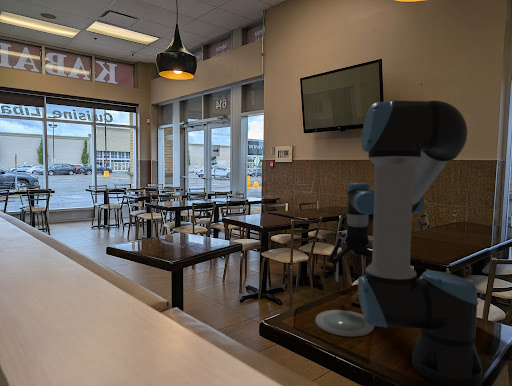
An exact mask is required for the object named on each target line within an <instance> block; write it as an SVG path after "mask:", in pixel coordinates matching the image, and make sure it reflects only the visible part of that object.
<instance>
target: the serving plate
mask: <svg viewBox="0 0 512 386" xmlns="http://www.w3.org/2000/svg"><path fill="white" fill-rule="evenodd" d="M315 324H316V325H317V327H318V328H319V329H321V330H323V332H327V333H329V334H332V335H336V336H342V337H351V338H353V337H362V336H366V335H369V334H371V333H372V332H373V331H374V330H375V326H372V325H370V324H368V323H367V321H366V320H365V318H364V316H363V313H359V312H354V311H350V310H343V309H342V310H341V309H332V310H331V309H330V310H325V311H321V312H320V313H318V314H317V315H316V317H315Z"/></svg>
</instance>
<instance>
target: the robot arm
mask: <svg viewBox="0 0 512 386" xmlns="http://www.w3.org/2000/svg"><path fill="white" fill-rule="evenodd" d="M362 126H363V127H362V131H361V140H360V141H361V149H362V150H363V151H364V152H367V153H368V160H369V161H370V162H371V163H372V164H373V165H374V178H373V179H374V185H373V187H374V188H373V189H374V190H370V184H369V183H366V182H351V183H348V185H347V212H346V213H347V214H346V223H347V225H346V237H341V236H338V237H337V242H336V244H335V245H334V248H333V249H332V251H331V253H330V254H329V256H328V262H329V263H332V272H333V273H335V282H336V283H338V282H339V266H340V265H339V261H340V260H341V259H343V257H344V256H346V254H347V253H348V252H350V250H351V251H354V252H355V251H358V252H362V251H364V252H365V253H366V254H367V255H368V256H369V258H370V259H371V260H372V261H371V263H369V264H368V266H367V267H365V275H361V276H359V277H358V278H357V292H358V293H359V300H360V304H359V305H360V309H361V311H362V313H361V314H362V315H363V316H364V318H365V320H366V321H367V323H368V324H370V325H372V326H374V327H381V328H382V327H383V328H385V329H387V328H399V329H400V328H402V329H420V334H419V336H418V338H417V341H416V344H415V346H414V347H413V350H412V353H411V365H412V367H413V368H414V370H415V371H416V373H417V372H418V374H419V375H421V376H422V377H424V378H426V379H427V380H429V381H432V382H434V383H437V384H440V385H443V386H479V385H480V384H481V383H482V382H483V366H482V363H481V360H480V357H479V354H478V350H477V347H476V334H477V331H476V330H477V316H478V315H477V314H478V305H479V302H478V289H477V286H476V284H475V283H474V284H473V283H472V282H470V281H468V280H469V279H467V280H466V278H464V277H461V276H458V275H455V274H451V273H448V272H444V271H437V270H428V271H427V270H425V271H424V273H422V274H423V275H422V274H421V275H422V278H421V279H419V278H420V277H418V278H417V275H418V274H417V272H416V270H414V268H412V266H411V248H412V247H411V245H412V240H411V239H412V217H413V216H412V215H414V214H417V215H418V214H421V213H422V212H423V210H424V208H425V196H424V195H425V193H426V192H427V191H428V190H429V188H431V186H432V184H433V183H434V182H435V180H436V179H437V178H438V176H439V174H441V172H442V170H443V169H444V168H445V167H446V165H447V163H449V162H452V161H453V160H455V159H456V158H457V157H458V156H459V154H460V153H461V152H462V150H463V149H464V147H465V146H466V142H467V138H468V125H467V122H466V120H465V117H464V116H463V114H462V113H461V112H460V111H459V109H457V108H456V106H453V104H450V103H448V102H446V101H441V100H388V101H378V102H374V103H373V104H371V106H370V107H369V108H368V110H367V112H366V115H365V118H364V121H363V125H362ZM372 214H373V219H372V220H373V221H372V238H371V239H369V226H368V225H369V215H372ZM344 242H345V244H346V246H345V247H344V248H343V249H342V250H341V251H340V252H339V253H338V254H337V252H338V251H339V249H340V247H341V245H343V244H344ZM369 244H370V245H371V246H372V252H371V251H370V249H369V248H368V247H367V246H368V245H369ZM336 254H337V256H336ZM335 256H336V257H335Z"/></svg>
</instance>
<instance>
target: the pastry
mask: <svg viewBox="0 0 512 386" xmlns="http://www.w3.org/2000/svg"><path fill="white" fill-rule="evenodd" d="M350 302H351V303H354V304H356V305H360V300H359V293H358V291H357V292H356V293H354V294H353V295H352V296H350Z"/></svg>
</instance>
